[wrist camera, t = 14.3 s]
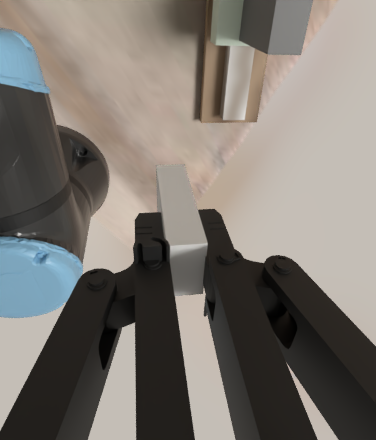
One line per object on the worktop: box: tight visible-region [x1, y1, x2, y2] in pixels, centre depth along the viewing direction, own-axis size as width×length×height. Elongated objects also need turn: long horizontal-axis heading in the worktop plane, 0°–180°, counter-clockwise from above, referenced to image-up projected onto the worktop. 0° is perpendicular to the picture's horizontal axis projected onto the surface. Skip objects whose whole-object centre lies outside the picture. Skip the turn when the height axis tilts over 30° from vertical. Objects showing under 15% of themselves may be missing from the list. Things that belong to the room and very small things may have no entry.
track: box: [200, 0, 268, 123], centre depth 38 cm, size 8×22×4 cm, turn 178°
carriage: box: [210, 0, 313, 55], centre depth 31 cm, size 8×5×13 cm, turn 88°
